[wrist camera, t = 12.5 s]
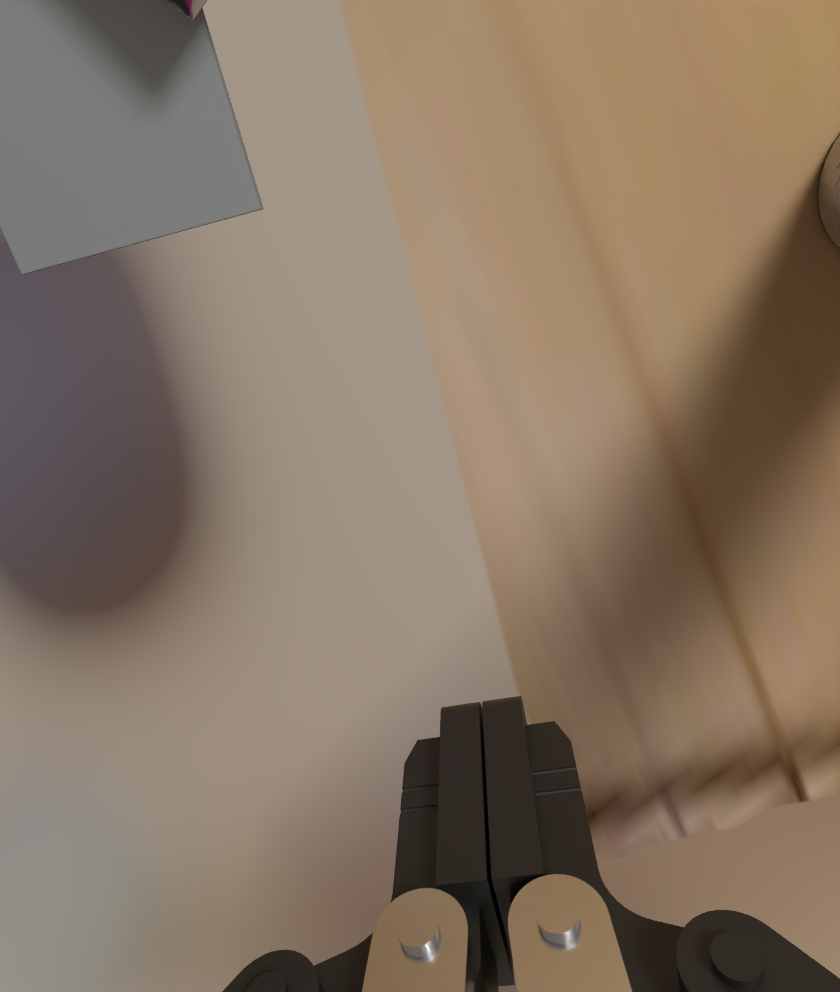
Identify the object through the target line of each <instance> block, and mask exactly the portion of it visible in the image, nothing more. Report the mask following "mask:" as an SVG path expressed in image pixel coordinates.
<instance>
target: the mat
mask: <svg viewBox="0 0 840 992" xmlns="http://www.w3.org/2000/svg"><path fill="white" fill-rule="evenodd" d="M261 209H263V206H262V203H261V199H260V196H259V192H258V189H257V186H256V183H255V179H254V176H253V173H252V170H251V166H250V163H249V160H248V157H247V153H246V150H245V147H244V143H243V140H242V137H241V134H240V130H239V127H238V124H237V120H236V117H235V114H234V111H233V107H232V104H231V101H230V98H229V94H228V91H227V88H226V84H225V81H224V78H223V75H222V71H221V69H220V65H219V62H218V58H217V55H216V52H215V48H214V45H213V42H212V39H211V35H210V32H209V29H208V25H207V22H206V19H205V16H204V13H203V9H201V10H200V12H199V13H198V15H197V16H196V18H195V19H194V20H191V19H190V18H189V17H187V16H186V15H185V14H184V13H183V12H181V11H180V10H179V9H177V8H176V7H175V6H173V5H172V4H171V3H169V2H168V1H167V0H0V227H1V229H2V232H3V234H4V236H5V239H6V240H7V243H8V245H9V247H10V250H11V252H12V254H13V256H14V258H15V261H16V263H17V265H18V267H19V269H20V272H21V274H26V273H30V272H34V271H38V270H41V269H45V268H49V267H52V266H56V265H60V264H63V263H67V262H71V261H74V260H78V259H81V258H85V257H89V256H93V255H96V254H100V253H104V252H107V251H111V250H114V249H118V248H122V247H126V246H129V245H133V244H136V243H140V242H144V241H148V240H151V239H155V238H159V237H162V236H166V235H169V234H173V233H177V232H180V231H184V230H188V229H192V228H195V227H199V226H203V225H206V224H210V223H214V222H217V221H221V220H225V219H228V218H232V217H236V216H239V215H243V214H246V213H250V212H254V211H257V210H261Z"/></svg>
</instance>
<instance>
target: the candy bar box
mask: <svg viewBox="0 0 840 992" xmlns="http://www.w3.org/2000/svg"><path fill="white" fill-rule="evenodd" d="M167 1H168V2H169V3H171V4H172V5H173V6H175V7H176V8H177V9H179V10H180V11H181V12H183V13H184V14H185V15H186V16H187V17H189V18H190V19H191V20H194V19H195V18H196V16H197V15H198V13H199V12H200V10H201V9H202V7H203V6H204V4H205V3H206V1H207V0H167Z"/></svg>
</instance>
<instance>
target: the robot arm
mask: <svg viewBox="0 0 840 992" xmlns="http://www.w3.org/2000/svg"><path fill="white" fill-rule="evenodd" d="M818 200H819V209H820V216H821V219H822V222H823V224H824V227H825V230H826V232H827V233H828V235H829V236H830V238H831V239H832V241H833V242H834V243H835V244H836V245H837V246H838V247H839V248H840V135H839V137H838V138H837V139H836V141H835V142H834V144H833V146H832V148H831V150H830V152H829V154H828V157H827V159H826V161H825V164H824V168H823V171H822V174H821V178H820V185H819V196H818ZM482 708H483V709H482ZM440 722H441V723H440V737H437V738H430V739H423V740H417V742H416V744H415V746H414V748H413V749H412V751H411V753H410V755H409V756H408V758H407V760H406V762H405V766H404V776H403V777H404V778H403V787H402V788H403V793H402V798H401V814H400V819H399V831H398V842H397V853H396V863H395V875H394V885H393V894H392V900H391V903H390V904H389V905H388V906H387V907H386V908H385V910H384V911H383V912H382V914H381V915H380V917H379V918H378V920H377V923H376V925H375V927H374V931H373V933H372V934H371V935H370V936H369V937H368V938H367V939H365V940H364V941H363V942H361V943H360V944H359V945H357V946H355V947H353V948H351V949H350V950H347V951H346V952H343V953H341V954H339V955H337V956H334V957H332V958H330V959H328V960H326V961H323V962H321V963H319V964H317V965H315V966H313V965H312V963H311V962H310V960H309V959H308V958H307V957H305V956H304V955H302V954H301V953H298V952H296V951H292V950H278V951H274V952H270V953H267V954H265V955H263V956H261V957H259V958H257V959H256V960H254V961H253V962H252V963H250V964H249V965H248V966H246V967H245V968H244V969H243V970H242V971H241V972H240V973H239V975H237V976H236V978H235V979H234V980H233V981H232V982H231V983H230V984H229V985H228V986H227V987H226V988H225V989H224V991H223V992H498V986H507V985H514V971H515V977H516V984H517V991H518V992H840V979H839V978H838V977H837V976H835V975H834V974H833V973H831V972H830V971H829V970H827V969H826V968H825V967H823V966H822V965H820V964H819V963H818V962H816V961H815V960H814V959H812V958H811V957H809V956H808V955H807V954H806V953H804V952H803V951H801V950H800V949H799V948H797V947H796V946H795V945H793V944H792V943H791V942H789V941H788V940H786V939H785V938H784V937H782V936H781V935H780V934H778V933H777V932H776V931H774V930H773V929H771V928H770V927H769V926H767V925H766V924H764V923H763V922H761V921H759V920H757V919H756V918H753V917H751V916H749V915H746V914H743V913H740V912H736V911H730V910H714V911H708V912H706V913H703V914H700V915H698V916H696V917H695V918H693V919H692V920H691V921H690V922H689V923H688V924H686V926H685V927H680V926H675V925H671V924H667V923H663V922H658V921H654V920H650V919H647V918H644V917H642V916H639V915H637V914H635V913H633V912H631V911H630V910H628V909H627V908H625V907H624V906H623V905H621V904H620V903H619V902H618V901H617V900H616V899H615V898H614V897H613V896H612V895H611V894H610V893H609V891H608V890H607V888H606V887H605V885H604V883H603V881H602V879H601V877H600V873H599V870H598V866H597V861H596V856H595V852H594V847H593V842H592V838H591V833H590V828H589V824H588V819H587V815H586V810H585V805H584V801H583V796H582V792H581V787H580V782H579V777H578V773H577V768H576V763H575V759H574V754H573V749H572V745H571V741H570V740H569V738H568V737H567V736H566V735H565V733H564V732H563V731H562V730H561V729H560V727H559V726H558V725H557V724H556V723H555V721H553V722H546V723H538V724H531V725H527V722H526V717H525V712H524V707H523V702H522V698H521V696H518V697H511V698H504V699H497V700H490V701H484V702H483V703H482V706H481V703H480V702H477V703H470V704H463V705H456V706H449V707H442V709H441V721H440ZM513 964H514V971H513Z"/></svg>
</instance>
